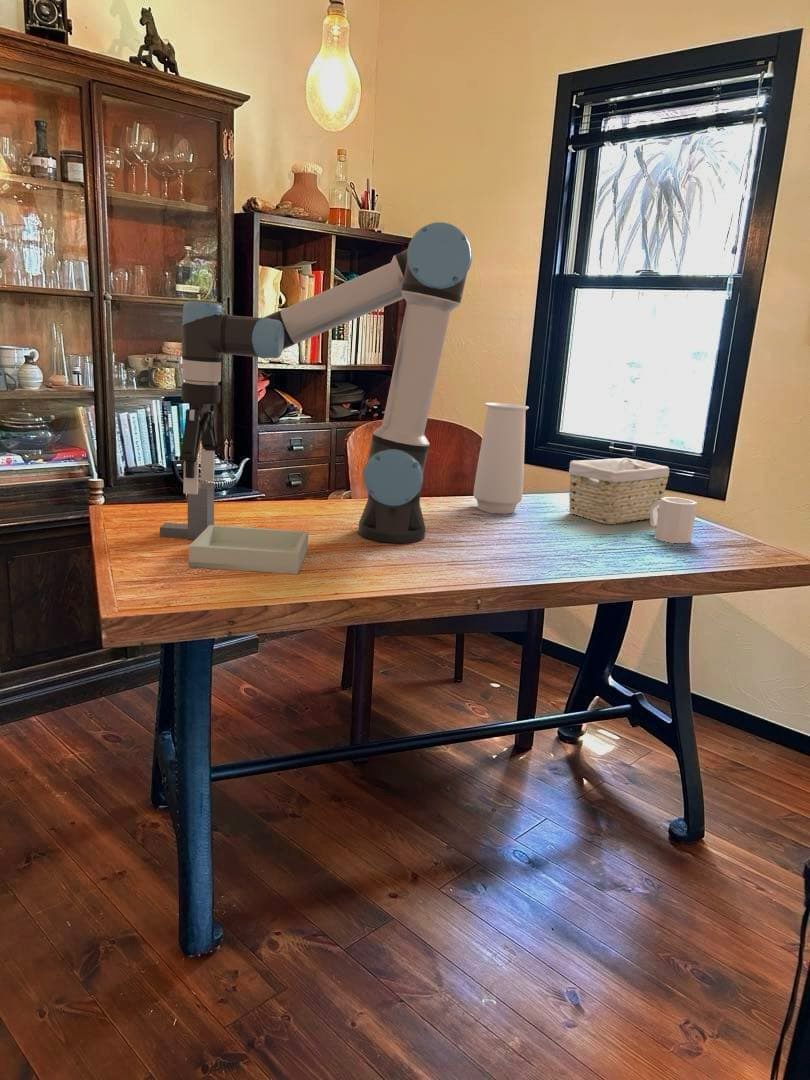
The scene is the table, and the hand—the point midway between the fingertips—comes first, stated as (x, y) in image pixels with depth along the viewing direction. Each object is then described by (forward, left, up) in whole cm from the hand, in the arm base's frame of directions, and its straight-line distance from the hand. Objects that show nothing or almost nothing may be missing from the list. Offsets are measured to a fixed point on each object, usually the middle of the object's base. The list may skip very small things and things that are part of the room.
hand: (199, 487), depth 159 cm
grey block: (+3, 0, -11) cm, 11 cm away
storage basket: (-101, -48, -11) cm, 112 cm away
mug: (-108, -27, -11) cm, 112 cm away
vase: (-68, -46, -11) cm, 83 cm away
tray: (-13, +13, -11) cm, 21 cm away
